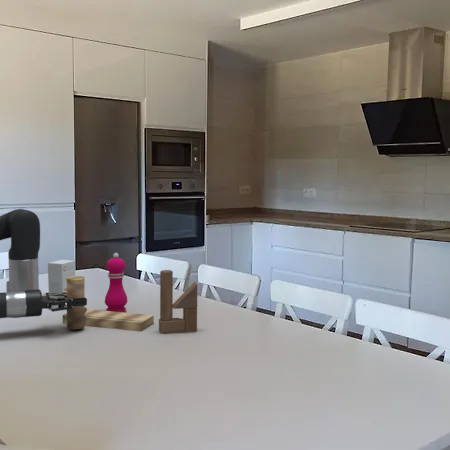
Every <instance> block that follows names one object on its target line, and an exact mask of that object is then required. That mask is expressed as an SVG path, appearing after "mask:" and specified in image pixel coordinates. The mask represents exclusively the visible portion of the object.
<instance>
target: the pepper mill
mask: <svg viewBox="0 0 450 450" xmlns="http://www.w3.org/2000/svg"><path fill="white" fill-rule="evenodd" d="M106 270H107V271H108V273H107V275H108V276H107V277H108V278H109V286H108V290H107V292H106V295H105V298H104V304H105V306H106V307H107V308H106V310H105V311H113V312H124V313H127V307H125V306H126V305H127V304H128V296H127V293H126V291H125V289H124V285H123V278H124V276H125V275H124V274H125V272H124V270H126V261H124V259H123V258H120V257H119V253H118V252H115V253H113V254H112V257H111V258H110V259H108V260H107V262H106Z"/></svg>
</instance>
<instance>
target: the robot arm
mask: <svg viewBox="0 0 450 450" xmlns="http://www.w3.org/2000/svg"><path fill="white" fill-rule="evenodd" d="M7 239H10V248H9V250H8V281H6V285H5V287H6V292H0V319H19V318H31V317H32V318H33V317H40V316H42V314H43V309H45V310H47V309H48V310H49V311H51V312H58V311H67V310H68V309H72V307H74V306H87V305H88V299H87V297H85V298H67V293H66V292H64V293H49V292H46V293H45V295H42V290H41V289H40V288H39V286H40V285H39V283H40V282H39V280H40V278H39V252H40V248H41V222H40V218H39V217H38V214H36V213H35V212H33V211H31V210H28V209H23V208H17V209H14V210H11V211H8V212H6V213H4V214H2V215H0V241H3V240H7ZM67 303H68V305H67Z"/></svg>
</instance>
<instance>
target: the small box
mask: <svg viewBox="0 0 450 450" xmlns="http://www.w3.org/2000/svg"><path fill="white" fill-rule="evenodd" d="M71 276H76V260H72V259H57V260H55V261H54V260H53V261H50V262H47V278H48V279H47V280H48V283H47V284H48V285H47V286H48V293H64V292H66V293H67V277H71Z"/></svg>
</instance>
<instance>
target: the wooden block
mask: <svg viewBox="0 0 450 450" xmlns="http://www.w3.org/2000/svg"><path fill="white" fill-rule="evenodd" d="M159 275H160V276H159V277H160V278H159V279H160V280H159V281H160V282H159V283H160V284H159V285H160V286H159V290H160V291H159V293H160V296H159V297H160V299H159V303H160V304H159V309H160V310H159V313H160V314H159V315H160V316H159V319H158V331H159V333H160V334H175V333H176V334H177V333H193V332H194V333H195V332H197V331H198V283H197V282H196V281H194V282H193V283H191V285H190V286H189V287H188V288H187V289H186V290H185V291H184V292H183V293H182V294H181V295H180V296H179V297H178V298H177V299H176V300H175V302H173V297H174V296H173V294H174V293H173V290H174V289H173V288H174V287H173V286H174V284H173V281H174V279H173V278H174V273H173V270H171V269H162V270H161V271H160V274H159ZM176 309H177V310H178V309H182V312H183V313H182V318H181V317H180V318H179V317H173V313H174V312H173V310H176Z"/></svg>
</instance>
